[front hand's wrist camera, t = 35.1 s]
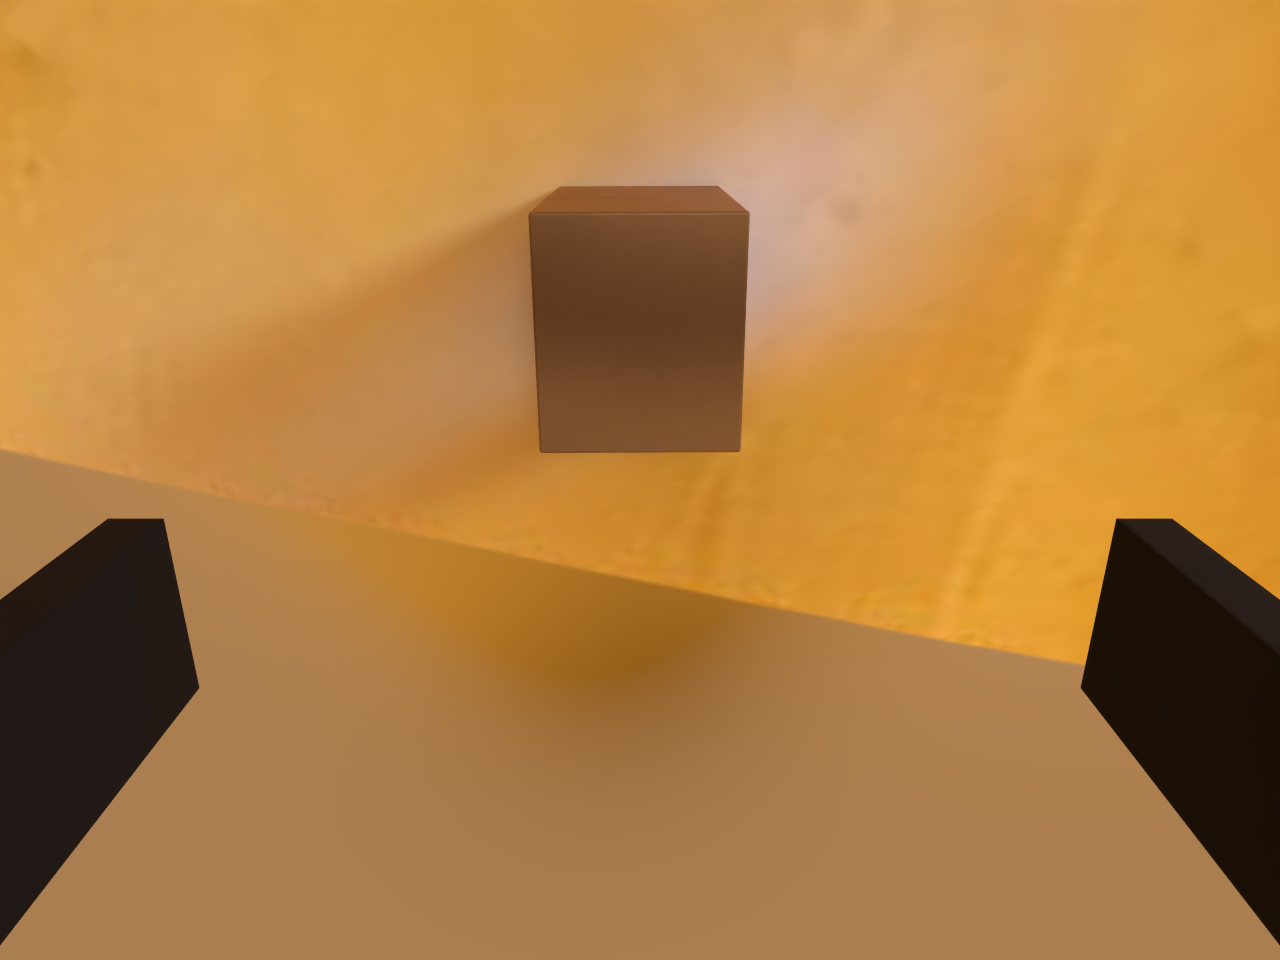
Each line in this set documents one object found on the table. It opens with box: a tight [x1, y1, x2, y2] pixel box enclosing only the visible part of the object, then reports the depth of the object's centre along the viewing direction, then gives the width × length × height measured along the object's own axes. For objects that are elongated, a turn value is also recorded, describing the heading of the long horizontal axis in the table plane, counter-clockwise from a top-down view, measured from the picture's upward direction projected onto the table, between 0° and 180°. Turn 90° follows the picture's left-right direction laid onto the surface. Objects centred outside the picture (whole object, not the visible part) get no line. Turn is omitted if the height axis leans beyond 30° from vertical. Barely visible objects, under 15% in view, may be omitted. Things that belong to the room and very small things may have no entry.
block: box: [529, 186, 750, 453], centre depth 34 cm, size 8×7×11 cm
